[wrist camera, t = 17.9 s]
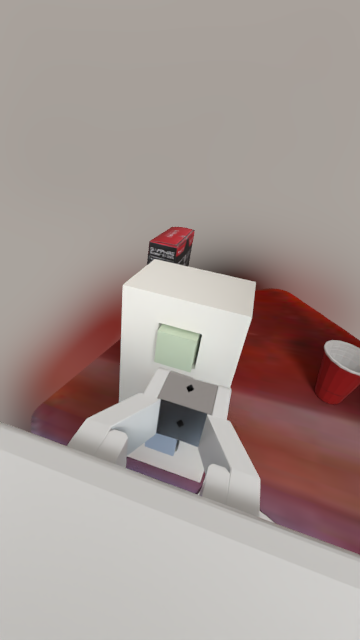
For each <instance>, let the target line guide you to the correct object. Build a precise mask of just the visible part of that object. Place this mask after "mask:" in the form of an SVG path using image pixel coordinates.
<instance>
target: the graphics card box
mask: <svg viewBox="0 0 360 640" xmlns="http://www.w3.org/2000/svg"><path fill="white" fill-rule="evenodd" d="M193 237H194V230H192V229H188V228H183V227H171V228H170V229H168V230H167V231H165V232H163V233H162V234H160V235H159V236H157V237H156V238H154V239H152V240H151V241H150V242H149V251H148V262H147V265H148V264H149V263H151V262H152V261H153V260H154V259H157V260H162V261H166V262H170V263H175V264H179V265H183V266H188V265H189V259H190V253H191V247H192V242H193Z"/></svg>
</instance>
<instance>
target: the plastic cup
mask: <svg viewBox="0 0 360 640" xmlns="http://www.w3.org/2000/svg"><path fill="white" fill-rule="evenodd" d="M322 359H323V360H322V363H321V366H320V370H319V373H318V377H317V382H316V385H315V393H316V395H317V396H318V397H319V398H320V399H321V400H322V401H324V402H326V403H329V404H339V403H340V402H342V401H343V400H344V399H345V398H346V397H347V396H348V395H349V394H350V393H351V392H352V391H353V390H355V389H356V388H357V387H358V386H359V385H360V348H358V347H356V346H354V345H352V344H349V343H346V342H343V341H338V340H331V341H328V342H326V344H325V346H324V355H323V358H322Z"/></svg>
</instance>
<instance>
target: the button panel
mask: <svg viewBox="0 0 360 640" xmlns="http://www.w3.org/2000/svg"><path fill="white" fill-rule="evenodd" d="M255 286H256V282H253V281H249V280H244V279H240V278H236V277H231V276H227V275H223V274H218V273H213V272H209V271H205V270H201V269H196V268H192V267H188V266H183V265H179V264H175V263H170V262H166V261H162V260H157V259H154V260H153V261H152V262H151V263H149V264H148V265H147V266H146V267H144V268H143V269H142V270H141V271H139V272H138V273H137V274H136V275H135V276H133V277H132V278H131V279H129V280H128V281H127V282H126V283H124V284H123V296H122V327H121V356H120V386H119V403H120V402H122V401H124V400H126V399H128V398H130V397H132V396H134V395H136V394H138V393H142V394H143V393H144V391H145V389H146V388H147V386H148V384H149V382H150V380H151V379H152V377H153V375H154V373H155V372H156V370H157V368H159V367H161V368H164V369H167V370H170V371H174V372H177V373H180V374H183V375H187V376H190V377H193V378H196V379H200V380H203V381H206V382H210V383H213V384H217V385H221V386H225V387H228V388H230V386H231V383H232V379H233V376H234V373H235V370H236V367H237V364H238V360H239V357H240V354H241V351H242V348H243V344H244V341H245V338H246V335H247V332H248V328H249V325H250V322H251V319H252V313H253V304H254V295H255ZM162 324H165V325H169V326H173V327H177V328H180V329H184V330H188V331H191V332H195V333H199V334H202V338H201V342H200V347H199V351H198V354H197V357H196V359H195V362H194V364H193V367H192V370H191V372H187V371H183V370H180V369H176V368H173V367H170V366H166V365H163V364H160V363H156V362H154V359H155V351H156V342H157V333H158V330H159V328H160V327H161V325H162ZM128 457H130V458H133V459H136V460H139V461H141V462H144V463H147V464H150V465H152V466H155V467H158V468H161V469H164V470H166V471H169V472H172V473H175V474H177V475H180V476H183V477H186V478H188V479H191V480H194V481H197V482H199V483H200V481H201V478H202V475H203V472H204V467H203V464H202V461H201V457H200V454H199V450H198V447H196V446H193V445H191V444H188V443H185V442H182V441H180V440H178V443H177V446H176V449H175V452H174V455H173V456H171V455H168V454H165V453H162V452H159V451H156V450H154V449H151V448H148V447H145V443H143V444H142V445H141V446H139V447H138V448H137V449H135V450H134V451H133V452H131V453H130V454H129V455H128Z"/></svg>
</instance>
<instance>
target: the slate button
mask: <svg viewBox="0 0 360 640" xmlns="http://www.w3.org/2000/svg"><path fill="white" fill-rule="evenodd" d="M177 443H178V440H177V439H174V438H171V437H167V436H164V435H161V434H158V433H156V434H155V435H154V436H153V437H151V438H150V439H149V440H147V441H146V442H145V447H148V448H151V449H154V450H156V451H159V452H162V453H165V454H168V455H171V456H173V455H174V452H175V449H176V446H177Z"/></svg>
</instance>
